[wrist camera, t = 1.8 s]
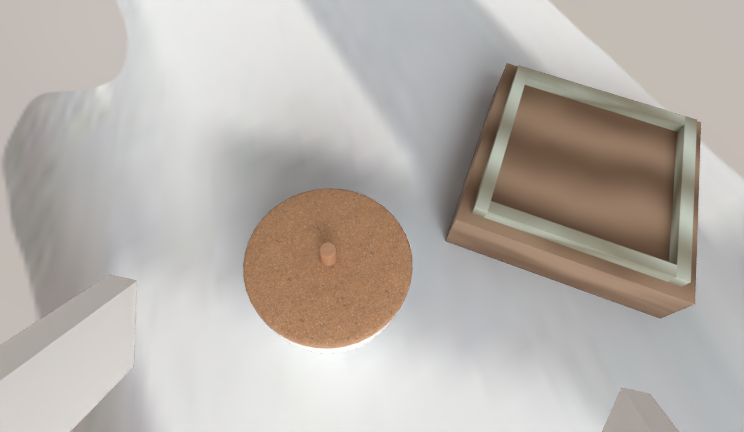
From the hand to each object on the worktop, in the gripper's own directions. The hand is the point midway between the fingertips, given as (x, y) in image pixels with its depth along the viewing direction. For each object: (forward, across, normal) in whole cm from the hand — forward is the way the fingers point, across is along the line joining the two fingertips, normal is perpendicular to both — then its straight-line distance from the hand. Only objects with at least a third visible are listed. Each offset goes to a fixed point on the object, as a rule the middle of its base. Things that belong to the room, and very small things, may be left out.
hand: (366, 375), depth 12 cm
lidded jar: (+21, +3, +10) cm, 24 cm away
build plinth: (+31, -16, -1) cm, 35 cm away
